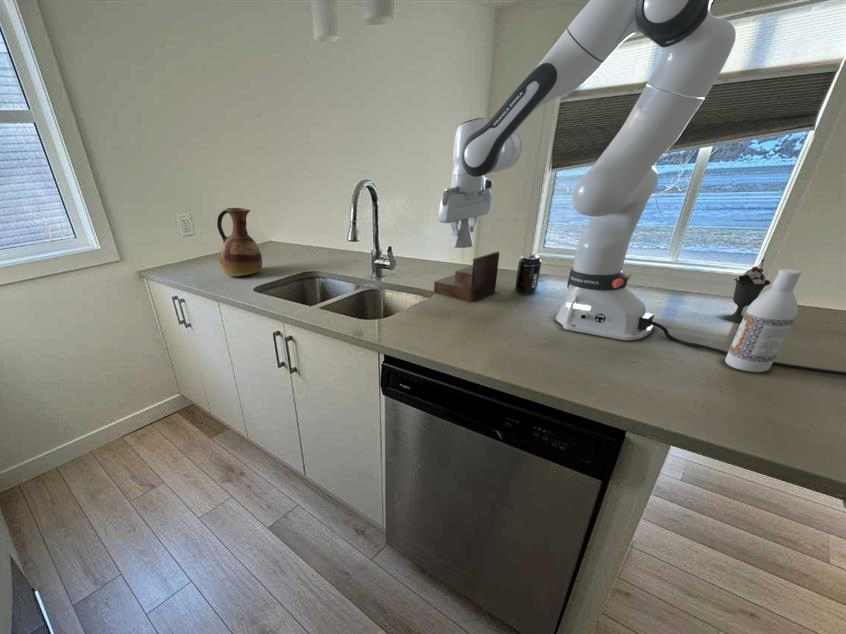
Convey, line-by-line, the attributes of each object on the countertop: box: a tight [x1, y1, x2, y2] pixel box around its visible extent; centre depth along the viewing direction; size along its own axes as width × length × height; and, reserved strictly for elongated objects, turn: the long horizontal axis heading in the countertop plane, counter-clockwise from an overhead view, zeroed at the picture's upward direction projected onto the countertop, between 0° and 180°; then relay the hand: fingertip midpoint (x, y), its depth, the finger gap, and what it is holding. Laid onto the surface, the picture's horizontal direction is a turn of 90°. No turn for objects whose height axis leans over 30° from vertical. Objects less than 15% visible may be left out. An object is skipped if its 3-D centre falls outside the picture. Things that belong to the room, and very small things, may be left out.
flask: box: [450, 219, 475, 249], centre depth 124 cm, size 7×7×10 cm
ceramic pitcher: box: [216, 207, 263, 277], centre depth 188 cm, size 20×20×30 cm
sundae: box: [722, 259, 771, 323], centre depth 101 cm, size 7×7×15 cm
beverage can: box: [514, 254, 542, 295], centre depth 134 cm, size 7×7×12 cm
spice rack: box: [433, 251, 500, 303], centre depth 139 cm, size 17×12×14 cm
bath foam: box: [724, 268, 802, 373], centre depth 80 cm, size 7×7×20 cm
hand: (463, 234), depth 125 cm, fingers closed on flask, 5 cm apart
